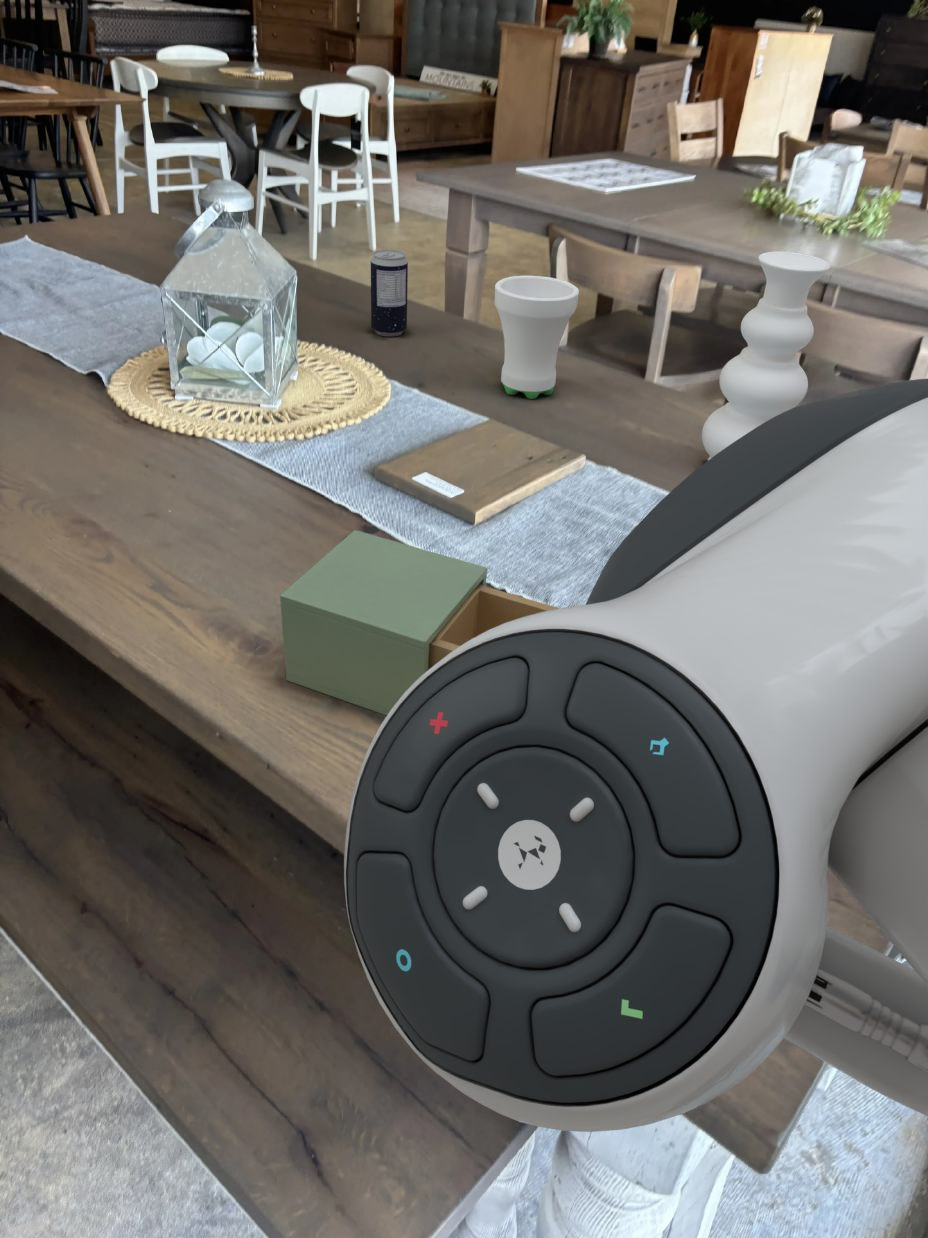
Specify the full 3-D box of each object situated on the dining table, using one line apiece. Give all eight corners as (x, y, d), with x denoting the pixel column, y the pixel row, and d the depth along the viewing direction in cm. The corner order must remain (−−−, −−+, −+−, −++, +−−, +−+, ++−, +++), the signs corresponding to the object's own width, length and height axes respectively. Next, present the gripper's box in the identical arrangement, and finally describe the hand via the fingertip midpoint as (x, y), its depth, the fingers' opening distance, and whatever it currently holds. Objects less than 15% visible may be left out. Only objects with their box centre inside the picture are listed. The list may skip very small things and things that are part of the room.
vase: (789, 463, 113) (849, 253, 98) (783, 501, 104) (848, 277, 90) (701, 446, 116) (747, 239, 101) (688, 482, 107) (737, 261, 93)
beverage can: (413, 331, 146) (414, 253, 139) (394, 340, 142) (395, 260, 135) (383, 324, 148) (383, 246, 141) (364, 333, 144) (363, 254, 137)
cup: (471, 384, 129) (477, 281, 120) (531, 370, 134) (540, 271, 126) (523, 411, 122) (533, 304, 113) (583, 395, 127) (597, 292, 119)
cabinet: (481, 649, 79) (487, 567, 74) (422, 728, 70) (425, 642, 65) (356, 609, 82) (354, 529, 78) (286, 680, 74) (279, 595, 69)
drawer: (650, 699, 73) (665, 632, 69) (614, 781, 65) (628, 711, 61) (472, 643, 78) (477, 577, 74) (419, 713, 70) (421, 644, 66)
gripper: (1075, 990, 24) (972, 975, 36) (434, 678, 32) (529, 752, 45) (984, 1226, 23) (910, 1127, 35) (348, 839, 31) (469, 870, 44)
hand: (693, 915), depth 40 cm, fingers closed
